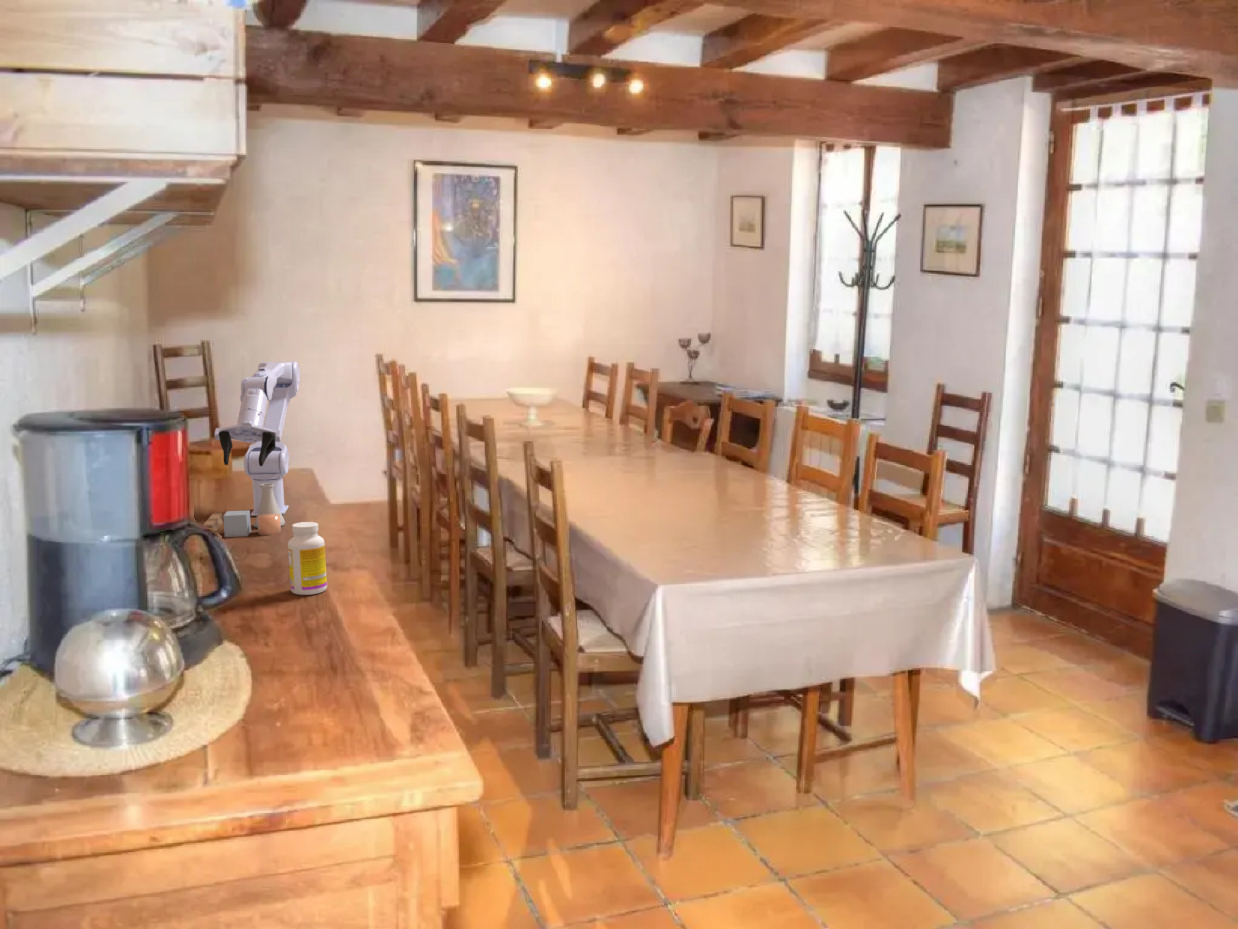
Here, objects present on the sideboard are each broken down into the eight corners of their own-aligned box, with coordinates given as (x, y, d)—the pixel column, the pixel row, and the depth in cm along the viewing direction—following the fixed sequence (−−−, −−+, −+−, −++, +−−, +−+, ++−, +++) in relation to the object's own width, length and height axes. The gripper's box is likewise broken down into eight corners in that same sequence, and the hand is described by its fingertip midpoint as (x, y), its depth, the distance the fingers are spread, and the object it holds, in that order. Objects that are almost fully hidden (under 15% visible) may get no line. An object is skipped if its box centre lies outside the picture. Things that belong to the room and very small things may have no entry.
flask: (290, 522, 270) (287, 481, 268) (278, 529, 263) (275, 487, 261) (261, 522, 271) (258, 481, 269) (248, 529, 263) (245, 487, 262)
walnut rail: (214, 523, 269) (213, 513, 269) (222, 523, 270) (222, 512, 269) (202, 536, 256) (201, 526, 255) (211, 536, 256) (211, 525, 256)
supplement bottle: (334, 588, 213) (331, 522, 211) (311, 597, 207) (307, 529, 205) (306, 584, 216) (303, 519, 214) (282, 593, 210) (278, 526, 208)
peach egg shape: (260, 530, 262) (258, 514, 261) (282, 530, 262) (281, 513, 262) (256, 535, 257) (255, 518, 256) (279, 534, 257) (278, 517, 257)
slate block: (228, 532, 260) (227, 511, 260) (251, 531, 261) (249, 510, 260) (224, 537, 256) (223, 515, 255) (247, 536, 256) (246, 514, 256)
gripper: (216, 405, 261) (207, 450, 252) (281, 407, 263) (274, 452, 254) (221, 424, 266) (211, 470, 258) (284, 427, 268) (277, 472, 260)
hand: (243, 462), depth 256 cm, fingers open, 7 cm apart
